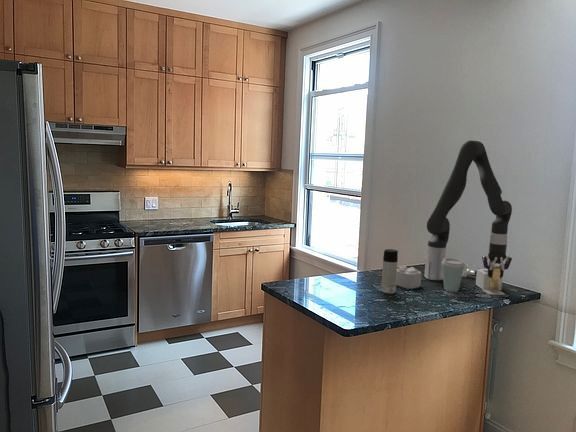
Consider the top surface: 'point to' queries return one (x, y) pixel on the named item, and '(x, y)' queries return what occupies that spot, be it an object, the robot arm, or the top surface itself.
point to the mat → (494, 292)
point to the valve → (468, 271)
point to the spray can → (389, 271)
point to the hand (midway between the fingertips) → (495, 277)
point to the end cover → (495, 278)
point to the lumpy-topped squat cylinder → (408, 277)
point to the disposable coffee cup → (452, 273)
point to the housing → (484, 279)
